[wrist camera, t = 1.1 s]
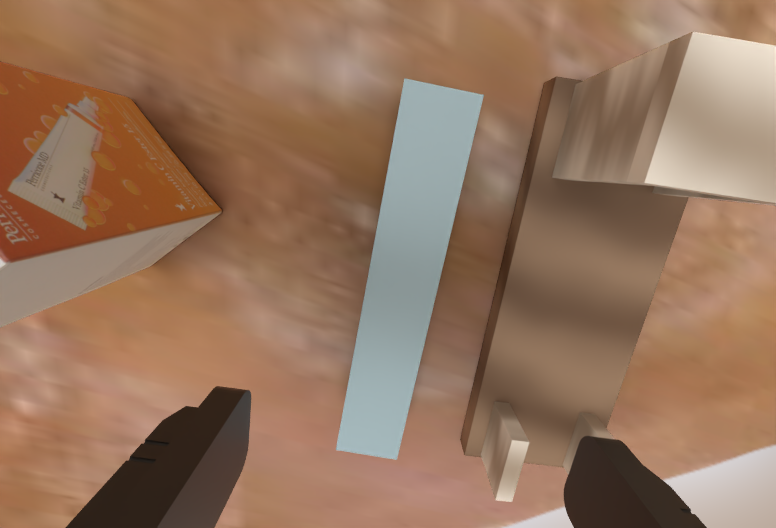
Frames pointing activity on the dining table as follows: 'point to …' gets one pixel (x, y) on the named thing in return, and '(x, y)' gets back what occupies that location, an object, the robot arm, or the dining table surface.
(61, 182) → the small box
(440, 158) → the slat
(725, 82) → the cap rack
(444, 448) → the dining table surface
